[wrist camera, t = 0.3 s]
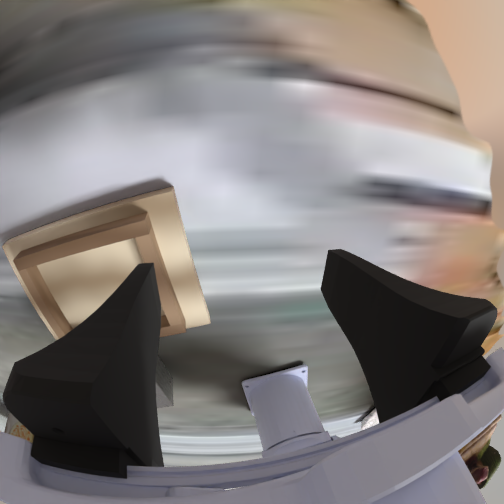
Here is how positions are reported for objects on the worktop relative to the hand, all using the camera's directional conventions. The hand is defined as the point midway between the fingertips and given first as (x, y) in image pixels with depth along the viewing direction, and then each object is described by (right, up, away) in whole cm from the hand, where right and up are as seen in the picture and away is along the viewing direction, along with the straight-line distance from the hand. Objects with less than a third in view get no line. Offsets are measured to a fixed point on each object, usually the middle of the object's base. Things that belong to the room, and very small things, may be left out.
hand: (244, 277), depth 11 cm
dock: (-12, -1, +10) cm, 16 cm away
